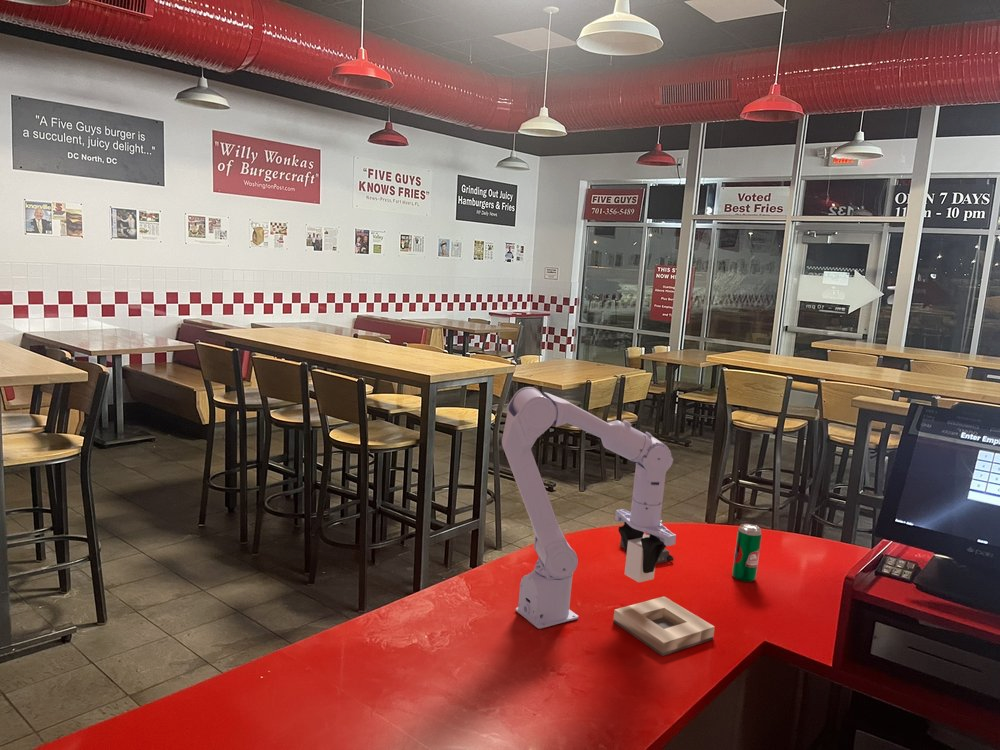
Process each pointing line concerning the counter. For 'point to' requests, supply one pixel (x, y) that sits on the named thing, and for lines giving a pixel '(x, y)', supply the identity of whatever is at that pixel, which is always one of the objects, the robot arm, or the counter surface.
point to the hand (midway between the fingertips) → (639, 567)
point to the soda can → (747, 552)
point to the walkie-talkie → (663, 556)
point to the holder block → (663, 625)
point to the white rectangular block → (636, 562)
